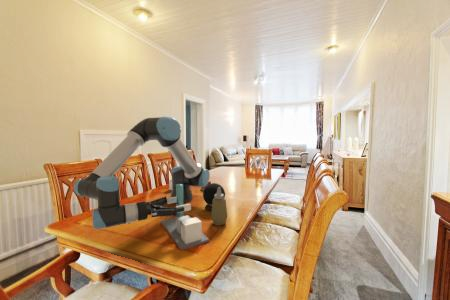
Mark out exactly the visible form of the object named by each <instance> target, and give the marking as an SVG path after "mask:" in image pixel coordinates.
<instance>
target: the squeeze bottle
mask: <svg viewBox="0 0 450 300" xmlns="http://www.w3.org/2000/svg"><path fill="white" fill-rule="evenodd" d="M226 201H227V199H225V198H224V194H222V193H221V189H220V187H218V189H217V194H215V195H214V199H213V202H212V212H211V220H212V223H213V225H215V226H224V225H225V224H226V222H227V219H228V208H227V202H226Z"/></svg>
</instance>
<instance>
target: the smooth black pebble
mask: <svg viewBox="0 0 450 300" xmlns="http://www.w3.org/2000/svg"><path fill="white" fill-rule="evenodd" d="M218 187H220V189H221V193H222V194H224V199H225V198H226V191H225V189H224V187H223V186H222V185H221V184H219V183H217V182H213V183H212V182H211V184H209V185H208V186H206V187H205V189H204V191H202V198H203V200H204V203H206V204H205V206H204V210H205V211H207V212H211V213H212V202H213V199H214V195H215V194H217V189H218Z"/></svg>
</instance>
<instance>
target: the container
mask: <svg viewBox="0 0 450 300" xmlns="http://www.w3.org/2000/svg"><path fill="white" fill-rule="evenodd" d="M168 184H169V185H168V186H169V190H170V191H172V179H170V180H168Z"/></svg>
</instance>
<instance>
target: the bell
mask: <svg viewBox="0 0 450 300" xmlns="http://www.w3.org/2000/svg"><path fill="white" fill-rule="evenodd" d="M209 184H212V181H211V180H209V181H208V184H207V185H206V186H208V185H209ZM206 186H205V187H206ZM205 187H200V191H201V192H203V191H204V189H205Z"/></svg>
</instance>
